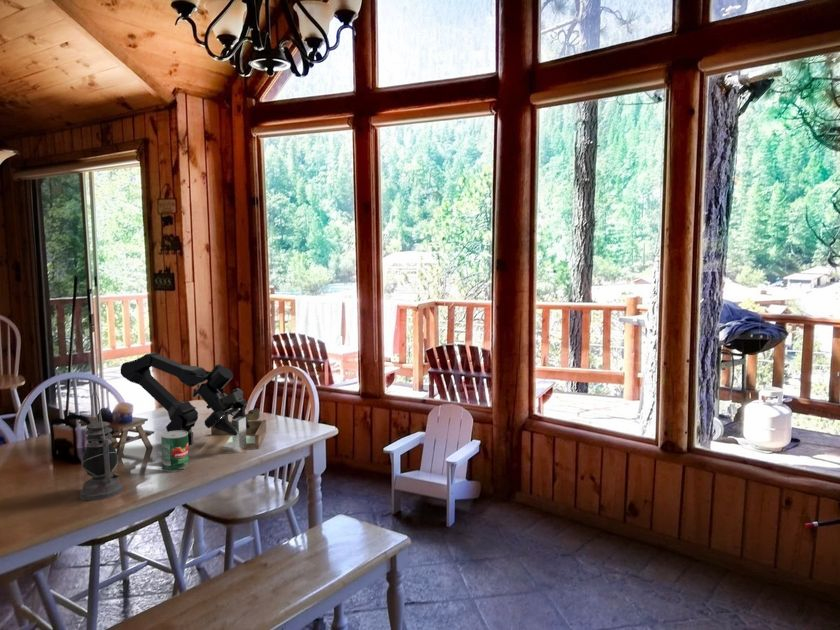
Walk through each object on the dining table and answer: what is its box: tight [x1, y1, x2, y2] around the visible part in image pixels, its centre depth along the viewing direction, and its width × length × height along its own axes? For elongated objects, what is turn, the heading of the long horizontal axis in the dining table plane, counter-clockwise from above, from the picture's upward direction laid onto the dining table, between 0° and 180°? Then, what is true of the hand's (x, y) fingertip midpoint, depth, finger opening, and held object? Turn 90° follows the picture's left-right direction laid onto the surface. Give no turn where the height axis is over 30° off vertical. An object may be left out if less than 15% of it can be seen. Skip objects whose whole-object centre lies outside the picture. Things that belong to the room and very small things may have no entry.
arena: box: [196, 419, 267, 455], centre depth 202 cm, size 20×21×6 cm
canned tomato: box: [160, 430, 190, 473], centre depth 181 cm, size 8×8×11 cm
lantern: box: [79, 389, 123, 501], centre depth 161 cm, size 12×11×30 cm
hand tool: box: [245, 407, 261, 420], centre depth 228 cm, size 19×4×5 cm, turn 158°
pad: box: [226, 436, 255, 444], centre depth 205 cm, size 10×8×1 cm
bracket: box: [222, 417, 246, 452], centre depth 195 cm, size 7×4×11 cm
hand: (242, 431), depth 194 cm, fingers open, 8 cm apart
